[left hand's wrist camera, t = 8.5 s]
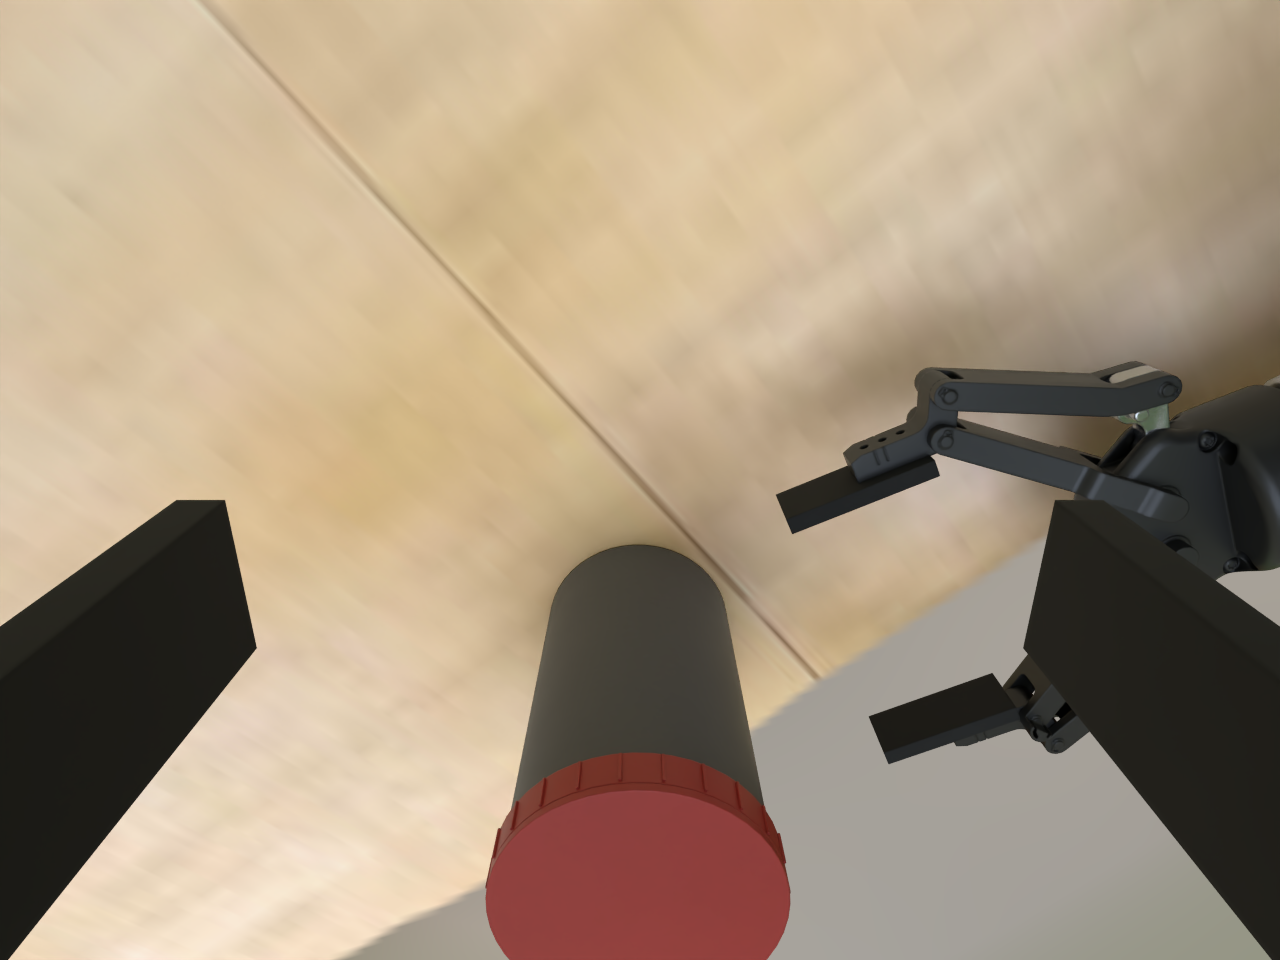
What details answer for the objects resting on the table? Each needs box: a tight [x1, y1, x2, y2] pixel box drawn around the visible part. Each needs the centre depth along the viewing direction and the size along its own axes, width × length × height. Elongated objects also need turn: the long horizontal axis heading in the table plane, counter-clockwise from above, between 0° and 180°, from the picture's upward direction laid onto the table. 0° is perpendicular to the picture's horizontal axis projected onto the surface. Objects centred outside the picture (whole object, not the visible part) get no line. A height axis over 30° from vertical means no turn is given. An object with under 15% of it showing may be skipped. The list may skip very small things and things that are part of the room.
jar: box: [511, 545, 764, 810], centre depth 36 cm, size 10×10×18 cm
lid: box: [486, 753, 790, 960], centre depth 28 cm, size 11×11×2 cm
